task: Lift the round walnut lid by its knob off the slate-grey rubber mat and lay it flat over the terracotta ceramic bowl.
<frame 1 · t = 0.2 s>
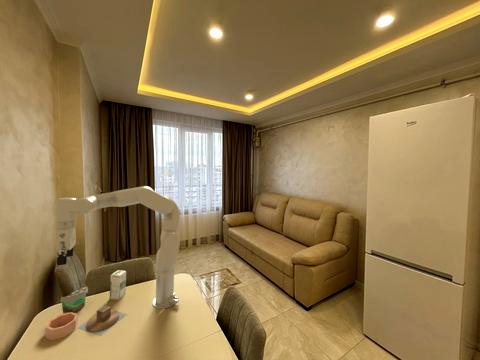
hand: (65, 260, 92), 31 cm above the table, tool pointing down, fingers open, 9 cm apart
bowl: (62, 331, 88), on the table
syrup box: (117, 297, 114), on the table
food container: (77, 310, 102), on the table
mat: (103, 321, 95), on the table
lid: (103, 320, 94), point 1 cm above the table, touching mat
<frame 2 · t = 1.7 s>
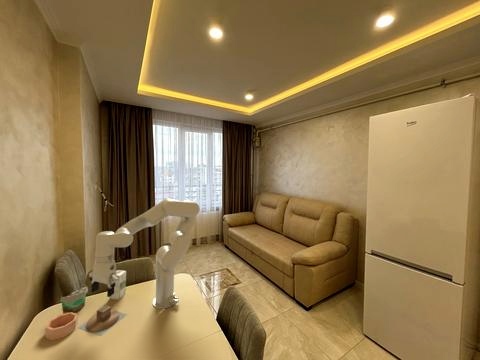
hand: (102, 293, 94), 14 cm above the table, tool pointing down, fingers open, 9 cm apart
nothing on the table moved.
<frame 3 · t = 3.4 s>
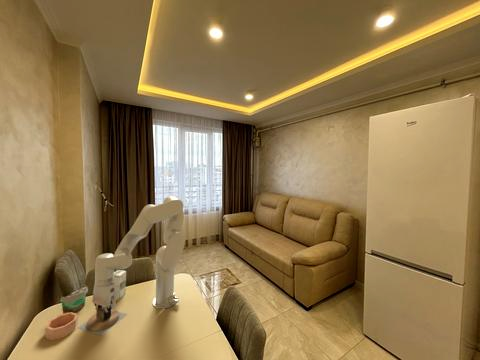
hand: (103, 317, 94), 2 cm above the table, tool pointing down, fingers closed on lid, 4 cm apart
lid: (103, 320, 94), point 1 cm above the table, touching gripper, mat
everything else where it was.
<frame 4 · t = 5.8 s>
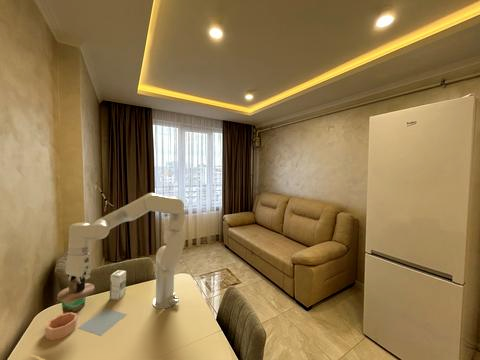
hand: (76, 289, 90), 18 cm above the table, tool pointing down, fingers closed on lid, 4 cm apart
lid: (76, 293, 90), point 17 cm above the table, touching gripper
everything else where it was.
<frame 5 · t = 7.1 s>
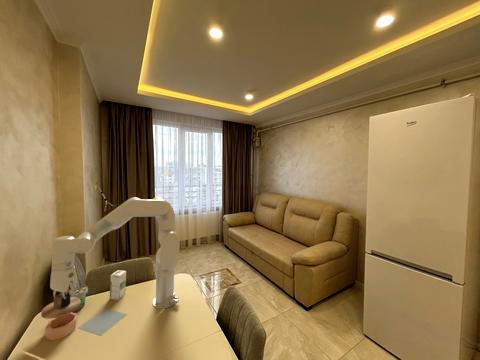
hand: (62, 304, 88), 12 cm above the table, tool pointing down, fingers closed on lid, 4 cm apart
lid: (61, 308, 88), point 11 cm above the table, touching gripper
everything else where it was.
when the fingers open (8 cm above the table, at t = 8.1 s): lid drops 2 cm, resting on bowl.
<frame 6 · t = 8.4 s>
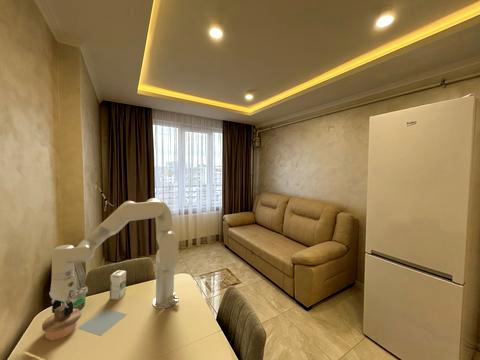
hand: (62, 312, 88), 9 cm above the table, tool pointing down, fingers open, 6 cm apart
lid: (62, 320, 88), point 5 cm above the table, touching bowl
everything else where it was.
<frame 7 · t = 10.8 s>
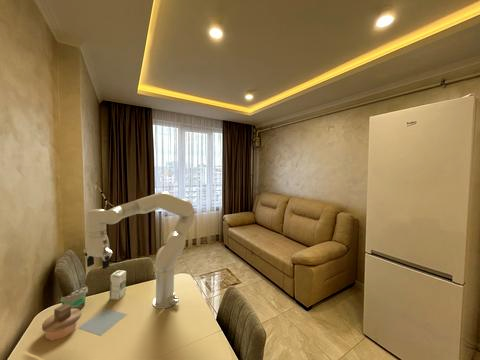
hand: (98, 266, 100), 24 cm above the table, tool pointing down, fingers open, 9 cm apart
nothing on the table moved.
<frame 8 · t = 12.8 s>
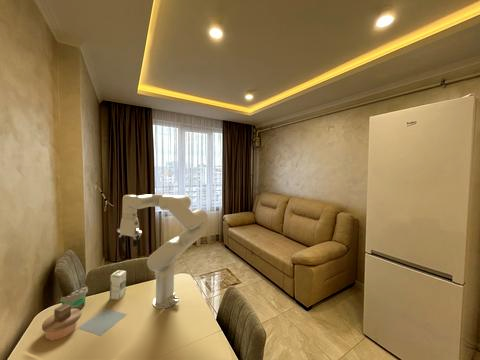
hand: (128, 244, 115), 30 cm above the table, tool pointing down, fingers open, 9 cm apart
nothing on the table moved.
at the end: lid 0.0 cm off-centre on the bowl, point 5.0 cm above the bowl's base; lid tilted 0°; the gripper is holding nothing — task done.
